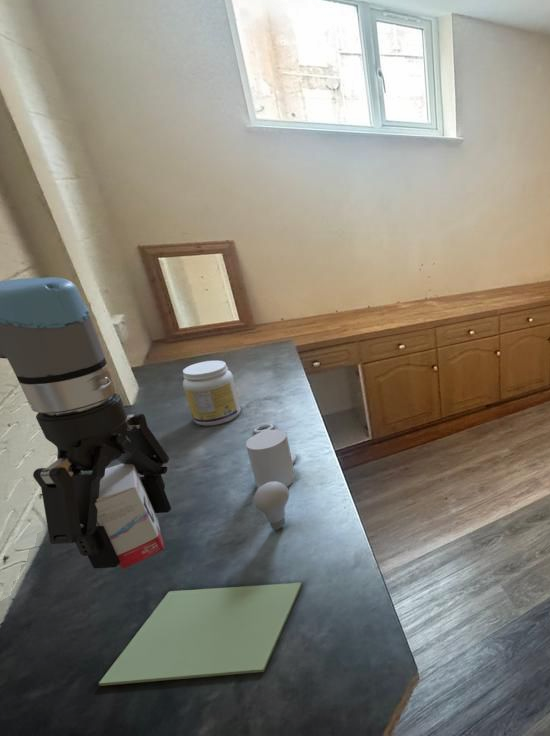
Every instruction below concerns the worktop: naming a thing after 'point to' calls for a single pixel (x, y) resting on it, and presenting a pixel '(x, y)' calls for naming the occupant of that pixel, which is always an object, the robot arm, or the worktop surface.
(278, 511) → the lightbulb
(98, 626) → the worktop surface
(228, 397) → the supplement tub
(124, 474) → the ink box
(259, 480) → the cup
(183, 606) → the mat
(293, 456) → the wrench
